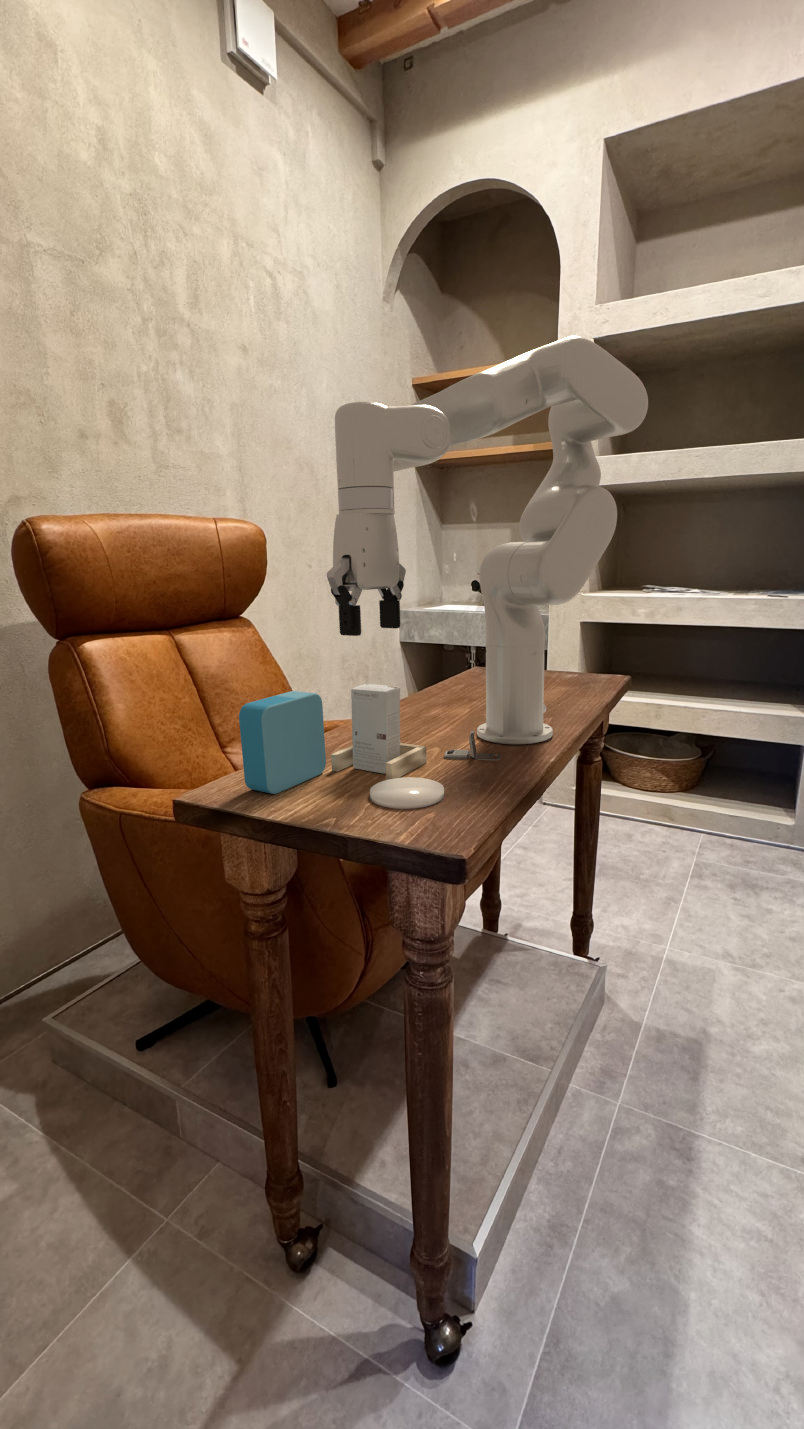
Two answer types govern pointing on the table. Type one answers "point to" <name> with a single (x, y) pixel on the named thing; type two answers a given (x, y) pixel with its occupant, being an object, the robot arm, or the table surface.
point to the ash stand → (395, 768)
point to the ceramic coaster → (407, 793)
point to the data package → (282, 741)
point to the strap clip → (466, 753)
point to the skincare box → (375, 726)
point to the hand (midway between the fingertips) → (371, 631)
